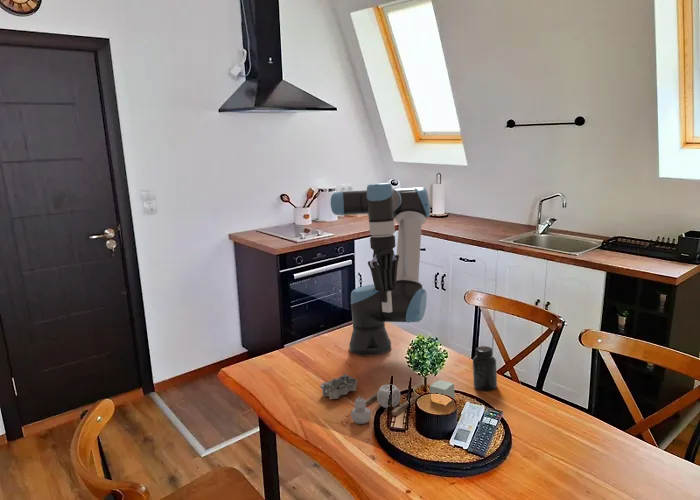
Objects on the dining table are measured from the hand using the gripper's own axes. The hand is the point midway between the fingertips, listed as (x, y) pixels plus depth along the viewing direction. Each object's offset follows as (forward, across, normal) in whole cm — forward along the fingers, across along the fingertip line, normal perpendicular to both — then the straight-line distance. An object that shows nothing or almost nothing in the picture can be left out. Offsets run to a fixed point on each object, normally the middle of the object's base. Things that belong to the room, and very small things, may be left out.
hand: (387, 311), depth 152 cm
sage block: (+25, 0, +18) cm, 30 cm away
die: (+25, +10, +6) cm, 27 cm away
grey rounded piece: (+25, +22, +6) cm, 34 cm away
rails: (+24, +10, +6) cm, 27 cm away
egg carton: (+25, +12, -8) cm, 29 cm away
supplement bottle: (+25, -15, +24) cm, 37 cm away
